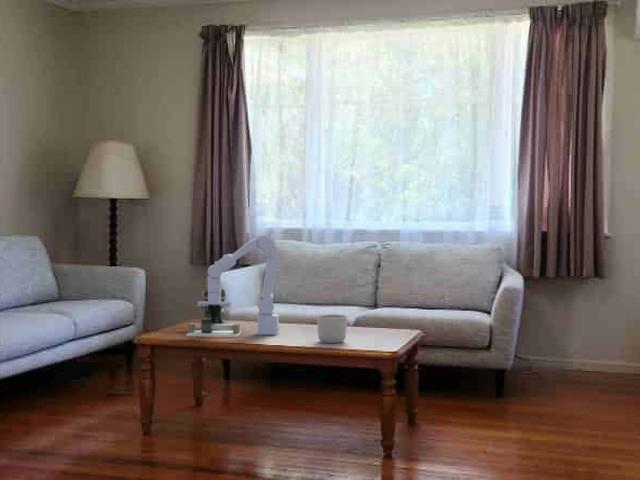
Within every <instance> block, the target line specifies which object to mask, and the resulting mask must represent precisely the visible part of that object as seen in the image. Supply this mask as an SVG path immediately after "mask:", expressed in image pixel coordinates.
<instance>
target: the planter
mask: <svg viewBox="0 0 640 480" xmlns="http://www.w3.org/2000/svg"><path fill="white" fill-rule="evenodd" d="M316 317H317V319H316V322H317V335H318V340H319V341H320V343H325V344H339V343H340V342H341V343H343V342H344V341H346V337H347V336H346V335H347V323H348V322H347V321H348V320H347V319H348V317H347V315H345V314H336V313H335V314H334V313H333V314H331V313H330V314H328V313H327V314H319V315H317V316H316ZM341 343H340V344H341Z"/></svg>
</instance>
